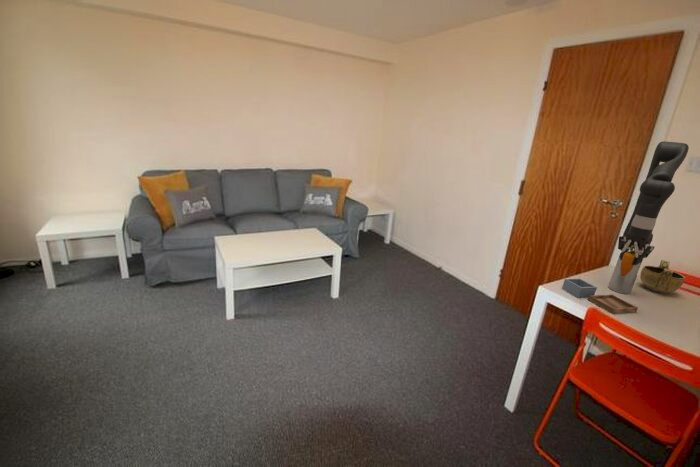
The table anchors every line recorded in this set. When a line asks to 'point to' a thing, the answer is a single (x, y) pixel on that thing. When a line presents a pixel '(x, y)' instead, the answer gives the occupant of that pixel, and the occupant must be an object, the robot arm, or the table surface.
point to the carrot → (627, 261)
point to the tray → (612, 304)
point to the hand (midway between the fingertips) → (628, 262)
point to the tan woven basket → (661, 278)
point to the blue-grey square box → (579, 288)
